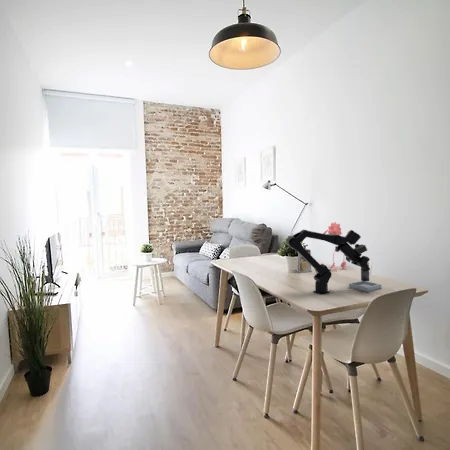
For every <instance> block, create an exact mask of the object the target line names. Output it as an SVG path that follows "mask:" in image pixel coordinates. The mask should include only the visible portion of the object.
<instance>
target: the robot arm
mask: <svg viewBox="0 0 450 450" xmlns="http://www.w3.org/2000/svg"><path fill="white" fill-rule="evenodd" d="M347 233H348V232H347ZM307 238H309V239H314V240H319V241H324V242H327V243H330V244H332V245H335V246H334V247H335V249H334V252H336V251H337V253H338V252H340V251H341V253H343V255H344V257H345V261H346V262H348V263H351V264H352V265H354V266H358V267H360V268H361V267H362V268H364V269H367V270H369V271H370V270H371V268H370V265H369V266H368V264H367V262H370V260H371V258H369V257H368V256H366V255H362V254H363V253H366V252H368V248H367V246H366V245H365V244H359V243H357V242H358V241H359V240H360V239H361V238H362V236H361V235H360V234H359V233H357V232H356V231H354V230H353V229H350V230H349V233H348V234H346V235H345V236H343V235H336V234H329V233H326V234H323V233H320V232H316V231H312V230H311V231H310V230H307V229H302V230H300V231H299V232H297V233H295V234H293V235H290V236H288V237H286V240H285V243H286V245H287V246H288V247H290V248H291V249H292V250H295V252H296V251H297V252H298V253H299V254H300V255H301V256H302V257H303V258H304V259H305V260H306V261H307V262H308V263H309V264H310V265H311V268H313V269H314V271H315V273H316V274H314V276H313V279H314V281H315V284H314V285H315V290H313V293H317V294H320V295H325V294H328V293H330V290H329V288H328V285H329V284H328V283H329V281H330V279H331V278H332V272H331V270H332V269H331V270H330V268H327V267H328V266H327V265H325V264H324V263H321V264H320V263H319V262H318V261H317V260H316V259H315V258H314V257H313V256H312V254H311V255H310V254H309V253H308V252H307V251H306V250H305V249H306V248H304V246H303V245H302V242H304V240H305V239H307ZM336 245H337V247H336ZM352 245H353V246H354V248H353V247H352Z"/></svg>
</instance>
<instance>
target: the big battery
mask: <svg viewBox="0 0 450 450" xmlns="http://www.w3.org/2000/svg"><path fill="white" fill-rule="evenodd" d="M367 264H368V266H369V267H370V261H368V262H367ZM360 281H368V282H370V270H367V269H364V268H362V267H360Z"/></svg>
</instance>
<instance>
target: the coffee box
mask: <svg viewBox="0 0 450 450" xmlns="http://www.w3.org/2000/svg"><path fill="white" fill-rule="evenodd" d="M304 249H305V250H306V251H307V252H308V253H309V254H310V255H311V256H312V253H311V249H307V248H304ZM297 267H298V268H297V269H298V272H297V273H301V274H303V273H310V272H312V266H311V265H310V264H309V263H308V262H307V261H306V260H305V259H304V258H303V257H302V256H301V255H300V254H299V253H298V265H297Z"/></svg>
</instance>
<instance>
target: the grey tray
mask: <svg viewBox="0 0 450 450" xmlns="http://www.w3.org/2000/svg"><path fill="white" fill-rule="evenodd" d="M348 288H349V289H352V290H357V291H360V292H365V293H370V292H375V291H377V290H381V289H382V284H381V283H376V282H372V281H361V280H359V281H354V282H350V283H348Z"/></svg>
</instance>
